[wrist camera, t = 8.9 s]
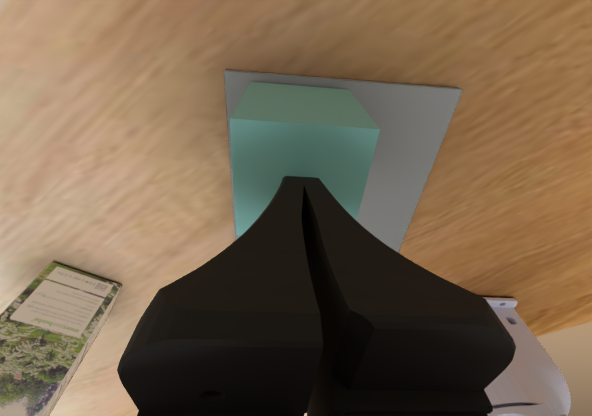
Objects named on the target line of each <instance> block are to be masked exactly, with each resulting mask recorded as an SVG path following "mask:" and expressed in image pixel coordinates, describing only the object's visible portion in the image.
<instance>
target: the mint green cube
mask: <svg viewBox="0 0 592 416" xmlns="http://www.w3.org/2000/svg"><path fill="white" fill-rule="evenodd" d="M379 132H380V129H379V127H378V126H377V125H376V124H375V122H374V121H373V120H372V118H371V117H370V116H369V115H368V113H367V112H366V111H365V109H364V108H363V107H362V106H361V104H360V103H359V102H358V100H357V99H356V98H355V97H354V95H353V94H352V93H351V91H350V90H347V89H334V88H322V87H310V86H298V85H285V84H273V83H261V82H250V83H249V85H248V87H247V88H246V90H245V92H244V94H243V96H242V97H241V99H240V101H239V103H238V104H237V106H236V108H235V110H234V112H233V113H232V115H231V117H230V133H231V150H232V168H233V185H234V203H235V220H236V235H240V236H241V235H242V234H243V233H244V232H245V231H246V230H247V229H248V228H249V227H250V226H251V225H252V224H253V223H254V222H255V221H256V220H257V219H258V218H259V216H260V215H261V214H262V212H263V211H264V210H265V209H266V207H267V206H268V205H269V203H270V202H271V200H272V199H273V197H274V195H275V194H276V192H277V190H278V188H279V186H280V184H281V182H282V178H283V177H285V176H298V177H315V178H319V179H320V180H321V181H322V183H323V184H324V185H325V186H326V188H327V189H328V190H329V191H330V193H331V194H332V195H333V196H334V198H335V199H336V200H337V201H338V202H339V203H340V205H341V206H342V207H343V208H344V209H345V210H346V211H347V212H348V213H349V214H350V215H351V216H352V217H353V218H354V219H355V220H357V217H358V213H359V209H360V205H361V201H362V197H363V193H364V190H365V186H366V182H367V178H368V174H369V170H370V167H371V163H372V159H373V155H374V151H375V147H376V143H377V140H378V136H379Z"/></svg>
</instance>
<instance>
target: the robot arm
mask: <svg viewBox="0 0 592 416" xmlns="http://www.w3.org/2000/svg"><path fill="white" fill-rule="evenodd" d="M517 304H518V302H517V301H516V299H514V298H488V297H481V296H478V295H476V294H474V293H472V292H470V291H468V290H466V289H464V288H461V287H459V286H457V285H455V284H453V283H451V282H449V281H447V280H444V279H442V278H440V277H439V276H437V275H435V274H433V273H431V272H429V271H428V270H426V269H424V268H422V267H420V266H419V265H417V264H415V263H414V262H412V261H410V260H408V259H407V258H405V257H404V256H402V255H401V254H399V253H398V252H396V251H395V250H393V249H392V248H390V247H389V246H387V245H386V244H384V243H383V242H382V241H380V240H379V239H378V238H376V237H375V236H374V235H373V234H371V233H370V232H369V231H368V230H366V229H365V228H364V227H363V226H362V225H361V224H359V223H358V222H357V221H356V220H355V219H354V218H353V217H352V216H351V215H350V214H349V213H348V212H347V211H346V210H345V209H344V208H343V207H342V206H341V205H340V203H339V202H338V201H337V200H336V199H335V198H334V196H333V195H332V194H331V193H330V191H329V190H328V189H327V188H326V186H325V185H324V184H323V183H322V181H321V180H320V179H319V178H315V177H298V176H285V177H283V178H282V182H281V184H280V186H279V188H278V190H277V192H276V194H275V195H274V197H273V199H272V200H271V202H270V203H269V205H268V206H267V207H266V209H265V210H264V211H263V212H262V214H261V215H260V216H259V218H258V219H257V220H256V221H255V222H254V223H253V224H252V225H251V226H250V227H249V228H248V229H247V230H246V231H245V232H244V233H243V234H242V235H241V236H240V237H239V238H238V239H237V240H236V241H234V242H233V243H232V244H231V245H230V246H229V247H227V248H226V249H225V250H224V251H222V252H221V253H219V254H218V255H217V256H215V257H214V258H212V259H211V260H210V261H208V262H207V263H205V264H204V265H202V266H201V267H199V268H197V269H196V270H194V271H192V272H191V273H189V274H187V275H185V276H183V277H182V278H180V279H178V280H176V281H174V282H173V283H171V284H169V285H167V286H165V287H163V288H161V289H160V290H159V291H158V292H157V294H156V295H155V297H154V298H153V300H152V302H151V303H150V305H149V306H148V308H147V309H146V311H145V312H144V314H143V316H142V317H141V319H140V321H139V322H138V324H137V326H136V328H135V331H134V333H133V335H132V337H131V339H130V341H129V343H128V345H127V347H126V349H125V351H124V353H123V355H122V357H121V360H120V362H119V366H118V369H117V371H118V374H119V377H120V380H121V382H122V384H123V386H124V387H125V389H126V391H127V392H128V394H129V395H130V397H131V398H132V400H133V402H134V403H135V405H136V406H137V408H138V410H139V412H138V415H137V416H304V413H307V416H568V415H567V414H568V412H569V409H570V406H571V398H570V393H569V389H568V386H567V383H566V381H565V378H564V376H563V374H562V372H561V371H560V369H559V368H558V366H557V365H556V363H555V362H554V361H553V359H552V358H551V357H550V355H549V354H548V353H547V352H546V350H545V349H544V348H543V346H542V345H541V344H540V342H539V341H538V340H537V338H536V337H535V336H534V334H533V333H532V332H531V330H530V329H529V328H528V327H527V325H526V324H525V323H524V321H523V320H522V319H521V317H520V316H519V315H518V313H517V312H516V311H515V309H514V308H515V306H516V305H517Z"/></svg>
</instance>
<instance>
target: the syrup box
mask: <svg viewBox="0 0 592 416" xmlns="http://www.w3.org/2000/svg"><path fill="white" fill-rule="evenodd" d="M120 289H121V285H120V284H117V283H114V282H111V281H108V280H105V279H102V278H99V277H96V276H93V275H90V274H87V273H84V272H81V271H78V270H75V269H72V268H69V267H66V266H63V265H60V264H57V263H54V262H52V263H50V264H49V265H48V266H47V267H46V268H45V269H44V270H43V271H42V272H41V273H40V274H39V275H38V276H37V277H36V279H35V280H34V281H33V282H32V283H31V284H30V285H29V286H28V287H27V288H26V289H25V290H24V291H23V292H22V293H21V294H20V295H19V296H18V297H17V298H16V299H15V300H14V301H13V302H12V303H11V304H10V305H9V306H8V307H7V308H6V309H5V310H4V311H3V312H2V314H1V315H0V416H49V415H50V413H51V412H52V410H53V408H54V407H55V405H56V403H57V402H58V400H59V398H60V397H61V395H62V393H63V392H64V390H65V388H66V387H67V385H68V383H69V382H70V380H71V378H72V377H73V375H74V373H75V371H76V370H77V368H78V366H79V365H80V363H81V361H82V360H83V358H84V356H85V355H86V353H87V351H88V350H89V348H90V346H91V345H92V343H93V342H94V340H95V338H96V337H97V335H98V333H99V331H100V330H101V328H102V326H103V325H104V323H105V321H106V320H107V317H108V316H109V313H110V311H111V309H112V306H113V304H114V302H115V300H116V297H117V295H118V293H119V291H120Z"/></svg>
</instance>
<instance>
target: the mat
mask: <svg viewBox="0 0 592 416" xmlns="http://www.w3.org/2000/svg"><path fill="white" fill-rule="evenodd" d="M224 79H225V94H226V109H227V124H228V138H229V153H230V168H231V183H232V198H233V213H234V228H235V241H236V240H237V239H238V238H239V237H240V235H236V220H235V203H234V185H233V168H232V150H231V133H230V117H231V115H232V113H233V112H234V110H235V108H236V106H237V104H238V103H239V101H240V99H241V97H242V96H243V94H244V92H245V90H246V88H247V87H248V85H249V83H250V82H261V83H273V84H285V85H298V86H310V87H322V88H334V89H347V90H350V91H351V93H352V94H353V95H354V97H355V98H356V99H357V100H358V102H359V103H360V104H361V106H362V107H363V108H364V109H365V111H366V112H367V113H368V115H369V116H370V117H371V118H372V120H373V121H374V122H375V124H376V125H377V126H378V127H379V129H380V132H379V136H378V140H377V143H376V147H375V151H374V155H373V159H372V163H371V167H370V170H369V174H368V178H367V182H366V186H365V190H364V193H363V197H362V201H361V205H360V209H359V213H358V217H357V220H356V221H357V222H358V223H359V224H361V225H362V226H363V227H364V228H365V229H366V230H368V231H369V232H370V233H371V234H373V235H374V236H375V237H376V238H378V239H379V240H380V241H382V242H383V243H384V244H386V245H387V246H389V247H390V248H392V249H393V250H395V251H396V252H399V250H400V247H401V244H402V242H403V239H404V237H405V234H406V232H407V229H408V227H409V224H410V222H411V219H412V217H413V214H414V212H415V209H416V207H417V204H418V202H419V199H420V197H421V194H422V192H423V189H424V187H425V184H426V182H427V179H428V176H429V174H430V171H431V169H432V166H433V164H434V161H435V159H436V156H437V154H438V151H439V149H440V146H441V144H442V141H443V139H444V136H445V134H446V131H447V129H448V126H449V124H450V121H451V119H452V116H453V113H454V111H455V108H456V106H457V103H458V101H459V98H460V96H461V93H462V91H463V90H462V89H460V88H455V87H442V86H430V85H417V84H404V83H392V82H379V81H366V80H354V79H341V78H328V77H315V76H303V75H290V74H277V73H265V72H252V71H239V70H227V69H226V70H225V71H224Z"/></svg>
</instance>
